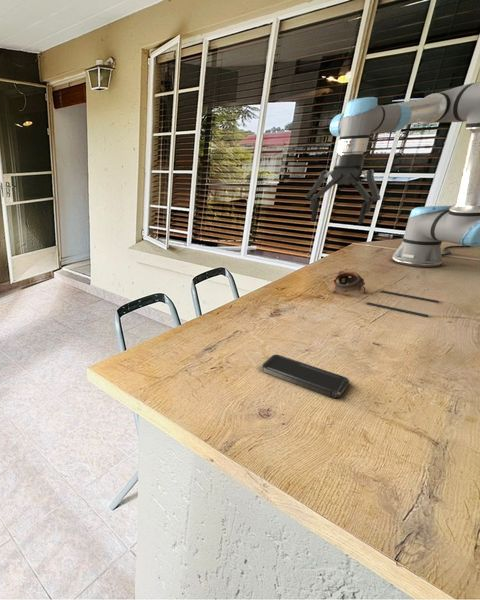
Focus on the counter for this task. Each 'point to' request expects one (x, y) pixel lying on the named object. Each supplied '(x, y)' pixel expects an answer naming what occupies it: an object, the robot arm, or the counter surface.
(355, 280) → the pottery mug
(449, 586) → the counter surface
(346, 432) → the counter surface
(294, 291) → the counter surface
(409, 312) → the bay strips
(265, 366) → the phone
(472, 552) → the counter surface
